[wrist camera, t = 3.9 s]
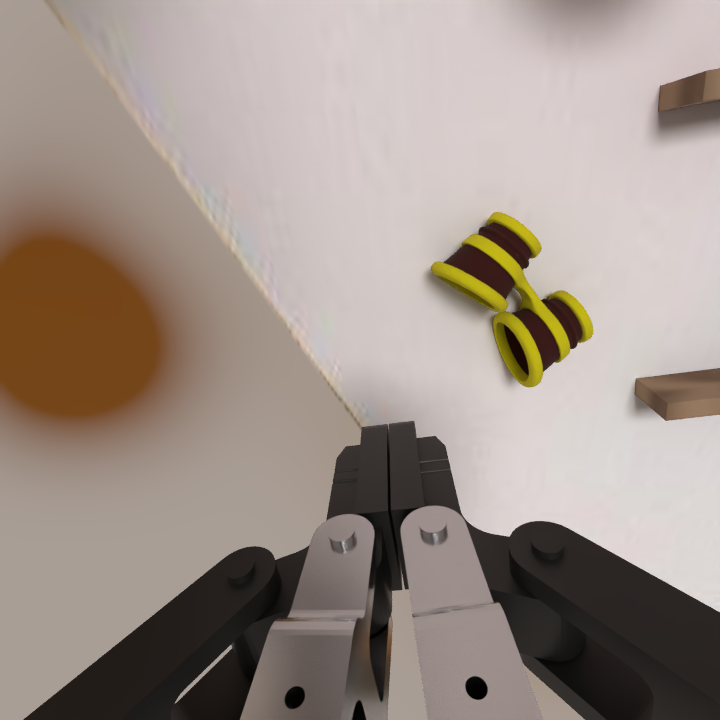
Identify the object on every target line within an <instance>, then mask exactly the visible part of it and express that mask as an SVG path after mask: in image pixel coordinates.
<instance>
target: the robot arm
mask: <svg viewBox="0 0 720 720" xmlns="http://www.w3.org/2000/svg"><path fill="white" fill-rule="evenodd" d="M401 569H402V574H403V580H404V585H405V589H409V592H410V599H411V606H412V612H413V614H412V615H413V622H414V630H415V637H416V643H417V650H418V657H419V663H420V671H421V677H422V684H423V691H424V698H425V704H426V711H427V717H428V720H543V717H542V714H541V712H540V709H539V706H538V704H537V700H536V698H535V695H534V692H533V690H532V687H531V684H530V681H529V679H528V676H527V673H526V670H525V668H524V665H525V666H526V667H527V668H528V669H529V670H530V671H532V673H534V674H535V675H536V676H537V677H538V678H539V679H540V680H541V681H543V682H544V683H545V684H546V685H547V686H548V687H549V688H551V689H552V690H553V691H554V692H555V693H556V694H557V695H558V696H559V697H561V698H562V699H563V700H564V701H565V702H566V703H567V704H568V705H570V706H571V707H572V708H573V709H574V710H575V711H576V712H577V713H578V714H580V715H581V716H582V717H583V718H584V719H585V720H720V612H718V611H716V610H714V609H713V608H711V607H709V606H707V605H705V604H704V603H702V602H700V601H698V600H696V599H695V598H693V597H691V596H689V595H687V594H686V593H684V592H682V591H680V590H678V589H677V588H675V587H673V586H671V585H669V584H668V583H666V582H664V581H662V580H660V579H658V578H657V577H655V576H653V575H651V574H649V573H648V572H646V571H644V570H642V569H640V568H639V567H637V566H635V565H633V564H631V563H630V562H628V561H626V560H624V559H622V558H621V557H619V556H617V555H615V554H613V553H612V552H610V551H608V550H606V549H604V548H602V547H601V546H599V545H597V544H595V543H593V542H592V541H590V540H588V539H586V538H584V537H583V536H581V535H579V534H577V533H575V532H574V531H572V530H570V529H568V528H566V527H564V526H562V525H559V524H556V523H552V522H545V521H535V522H529V523H525V524H523V525H521V526H519V527H518V528H516V529H515V530H514V531H513V532H512V534H511V536H510V537H506V536H500V535H494V534H490V533H486V532H483V531H481V530H479V529H477V528H475V527H474V526H472V525H471V524H469V523H468V522H467V521H466V520H465V518H464V517H463V515H462V514H461V511H460V507H459V503H458V498H457V494H456V490H455V486H454V481H453V477H452V473H451V469H450V464H449V461H448V456H447V451H446V447H445V445H444V444H443V443H442V442H441V441H440V440H439V439H438V438H437V437H436V436H431V437H423V438H416V431H415V423H414V421H408V422H400V423H392V424H389V429H388V425H387V424H384V425H376V426H368V427H362V432H361V444H360V445H356V446H347V447H345V449H344V450H343V451H342V452H341V454H340V455H339V456H338V457H337V460H336V466H335V473H334V478H333V484H332V491H331V496H330V502H329V508H328V514H327V520H326V522H324V523H322V524H321V525H320V526H319V527H318V528H317V529H316V531H315V533H314V534H313V537H312V540H311V543H310V545H309V546H308V547H306V548H305V549H303V550H301V551H298V552H296V553H293V554H291V555H288V556H285V557H282V558H280V559H277V560H275V558H274V556H273V554H272V553H271V552H270V551H269V550H267V549H265V548H262V547H256V546H255V547H246V548H243V549H239V550H237V551H235V552H233V553H231V554H229V555H228V556H227V557H225V558H224V559H223V560H221V561H220V562H219V563H218V564H216V565H215V566H214V567H213V568H211V569H210V570H209V571H208V572H206V573H205V574H204V575H203V576H201V577H200V578H199V579H198V580H197V581H195V582H194V583H193V584H191V585H190V586H189V587H188V588H187V589H185V590H184V591H183V592H181V593H180V594H179V595H178V596H176V597H175V598H174V599H173V600H172V601H171V602H169V603H168V604H167V605H165V606H164V607H163V608H162V609H160V610H159V611H158V612H157V613H156V614H154V615H153V616H152V617H150V618H149V619H148V620H147V621H145V622H144V623H143V624H142V625H140V626H139V627H138V628H137V629H136V630H134V631H133V632H132V633H131V634H129V635H128V636H127V637H125V638H124V639H123V640H122V641H121V642H119V643H118V644H117V645H116V646H114V647H113V648H112V649H111V650H109V651H108V652H107V653H106V654H104V655H103V656H102V657H101V658H99V659H98V660H97V661H96V662H95V663H93V664H92V665H91V666H89V667H88V668H87V669H86V670H84V671H83V672H82V673H81V674H80V675H78V676H77V677H76V678H75V679H73V680H72V681H71V682H70V683H68V684H67V685H66V686H65V687H63V688H62V689H61V690H60V691H59V692H57V693H56V694H55V695H53V696H52V697H51V698H50V699H48V700H47V701H46V702H45V703H43V704H42V705H41V706H40V707H38V708H37V709H36V710H35V711H33V712H32V713H31V714H30V715H29V716H27V717H26V718H25V719H24V720H388V697H389V679H390V662H391V645H392V627H393V623H392V616H391V612H392V591H394V590H402V574H401ZM230 645H232V649H231V650H230V651H229V652H228V653H227V654H226V655H225V656H224V657H223V658H222V659H221V660H220V661H219V662H218V663H217V664H216V665H215V666H214V667H213V668H212V669H211V670H210V671H209V672H208V673H207V674H206V675H205V676H203V677H202V678H201V679H200V680H199V681H198V682H197V683H196V684H195V685H194V686H193V687H192V688H191V689H190V690H189V691H188V692H187V693H186V694H185V695H184V696H183V697H182V698H181V699H180V700H179V701H178V702H177V703H175V701H176V700H177V698H178V696H179V695H180V694H181V693H182V692H183V690H184V689H185V688H186V687H187V686H188V685H189V684H190V683H192V682H193V680H195V679H196V678H197V677H198V676H199V675H200V674H201V673H202V672H203V671H204V670H205V669H206V668H207V667H208V666H209V665H210V664H211V663H212V662H213V661H214V660H215V659H216V658H217V657H218V656H219V655H220V654H221V653H222V652H224V651H225V650H226V649H227V648H228V647H229V646H230ZM523 664H524V665H523ZM174 703H175V704H174Z"/></svg>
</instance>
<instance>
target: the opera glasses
mask: <svg viewBox="0 0 720 720" xmlns="http://www.w3.org/2000/svg"><path fill="white" fill-rule="evenodd" d="M487 224H488V226H487V227H481V228H480V229H479V233H478V234H473V235H471V236H469V237H468V238H467V239H466V240H465V241H463V242H462V248H460V249H459V250H458V251H457V252H456V253H454V254H453V255H452V256H451V257H450V258H448V259H447V260H446V261H445V262H444V263H442V262H435V263H434V264H433V265H432V266H431V271H432V272H433V273H434V274H435V275H436V276H437V277H439V278H440V279H442V280H443V281H445V282H446V283H448V284H449V285H451V286H453V287H454V288H456V289H457V290H459V291H461V292H462V293H464V294H465V295H467V296H469V297H470V298H472V299H474V300H475V301H477V302H478V303H480V304H482V305H484V306H485V307H487V308H489V309H491V310H493V311H495V312H500V313H498V314H497V315H496V316H495V317H494V321H493V329H494V335H495V339H496V342H497V345H498V348H499V351H500V353H501V355H502V358H503V360H504V362H505V364H506V365H507V367H508V369H509V371H510V372H511V374H512V375H513V376H514V378H515V379H516V380H517V381H518V382H519V383H520V384H522V385H523V386H525V387H534V386H536V385H538V384H539V383H540V381H541V379H542V376H543V372H544V371H545V370H546V369H547V368H548V367H549V366H551V365H552V364H553V363H554V362H557V363H558V362H560V361H562V360H563V359H564V358H565V357H566V356H567V355H568V354H569V352H570V349H574V348H575V347H576V346H577V343H578V342H579V343H582V342H585V341H587V340H588V339H590V338H591V337H592V335H593V326H592V322H591V320H590V318H589V315H588V314H587V312H586V310H585V309H584V307H583V306H582V305H581V304H580V303H579V301H578V300H577V299H576V298H574V297H573V296H572V295H571V294H569V293H567V292H565V291H557V292H555V293H553V294H552V295H550V296H549V299H543V300H540V299H539V298H538V296H537V295H536V293H535V292H534V290H533V289H532V288H531V286H530V285H529V283H528V282H527V280H526V278H525V276H524V274H523V271H522V270H523V269H524V268H527V267H528V266H529V261H528V260H529V258H535V257H536V256H537V255H538V254H539V253H540V251H541V249H542V248H541V244H540V243H539V241H538V239H537V238H536V237H535V236H534V235H533V233H532V232H531V231H530V230H528V229H527V228H526V227H525V226H524V225H523V224H521V223H520V222H518V221H517V220H515V219H514V218H512V217H510V216H508V215H506V214H503V213H500V212H495V213H493V214H492V215H491V216H490V217H489V219H488V220H487ZM512 287H514V288H515V289H516V290H517V291H518V292H519V294H520V295H521V297H522V304H521V308H520V310H519V311H517V312H514V313H509V312H506V311H505V310H506V309H507V307H508V303H507V301H506V298H507V296H508V294H509V293H510V291H511V289H512ZM525 373H526V374H525Z"/></svg>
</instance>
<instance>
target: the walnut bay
mask: <svg viewBox="0 0 720 720" xmlns="http://www.w3.org/2000/svg"><path fill="white" fill-rule="evenodd" d="M719 100H720V68H719V69H714V70H709V71H705V72H702V73H698V74H695V75H692V76H689V77H686V78H683V79H680V80H677V81H674V82H671V83H668V84H665V85H662V86H660V98H659V110H658V112H659V111H665V110H670V109H676V108H681V107H686V106H692V105H697V104H703V103H708V102H713V101H719ZM635 395H636V396H638V397H639V398H640V399H641V400H642V401H643V402H645V403H646V404H647V405H648V406H649V407H650V408H652V409H653V410H654V411H655V412H656V413H657V414H659V415H660V416H661V417H662V418H663V419H664V420H666V421H668V420H676V419H685V418H694V417H703V416H712V415H720V368H718V369H710V370H702V371H694V372H686V373H678V374H670V375H662V376H654V377H646V378H638V379H636V389H635Z"/></svg>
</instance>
